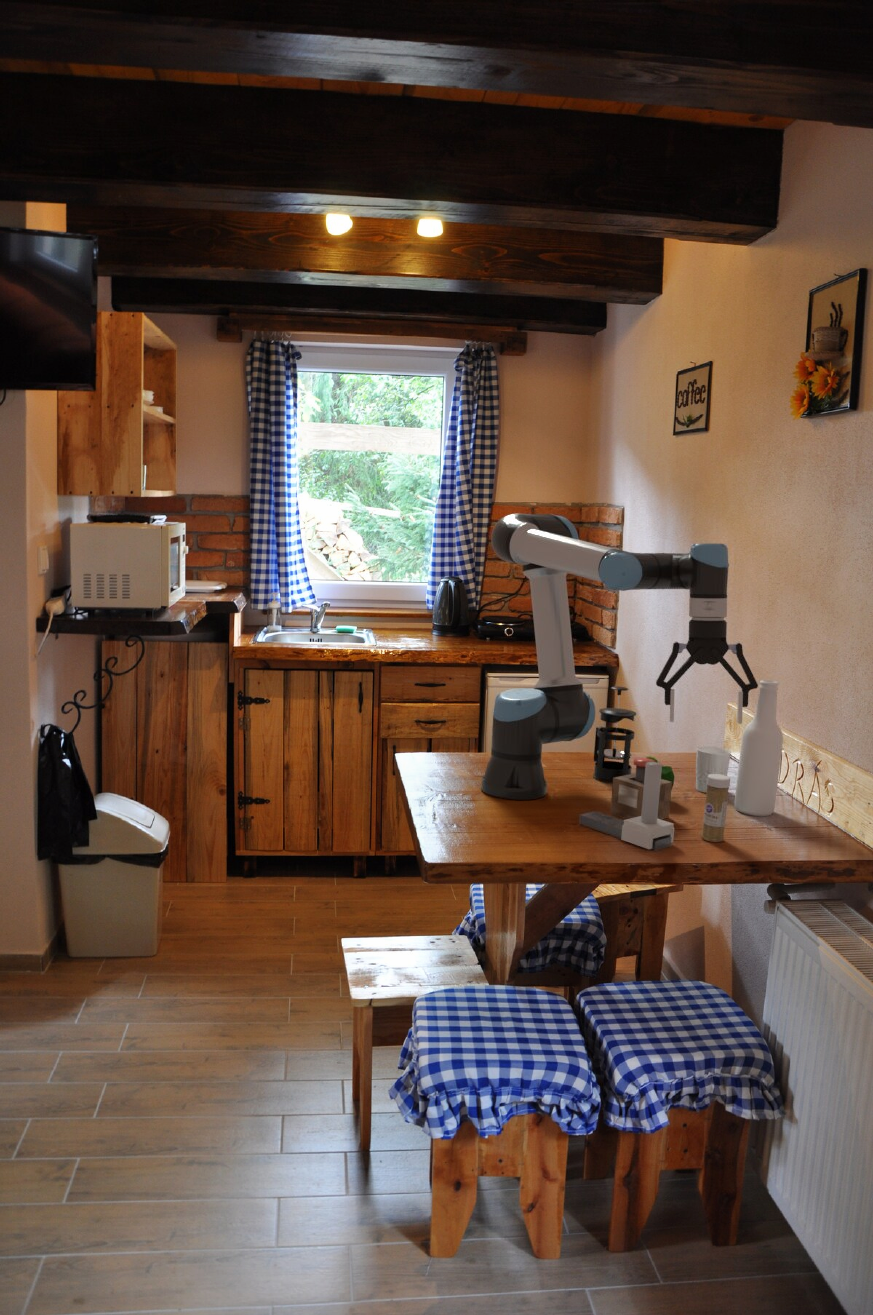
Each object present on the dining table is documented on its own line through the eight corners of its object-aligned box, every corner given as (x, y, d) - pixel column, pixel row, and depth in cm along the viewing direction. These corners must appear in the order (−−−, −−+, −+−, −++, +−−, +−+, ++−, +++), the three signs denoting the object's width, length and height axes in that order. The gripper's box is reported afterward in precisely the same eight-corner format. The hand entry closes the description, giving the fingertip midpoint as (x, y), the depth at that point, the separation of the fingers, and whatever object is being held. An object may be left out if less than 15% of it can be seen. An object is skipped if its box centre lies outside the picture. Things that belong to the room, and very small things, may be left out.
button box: (609, 813, 236) (612, 777, 234) (636, 806, 242) (639, 772, 240) (642, 824, 229) (645, 787, 228) (668, 817, 235) (671, 782, 234)
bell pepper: (679, 801, 249) (683, 759, 247) (660, 807, 243) (664, 764, 241) (648, 792, 254) (651, 751, 253) (629, 798, 248) (632, 756, 247)
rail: (578, 823, 227) (579, 814, 227) (594, 820, 230) (595, 811, 230) (655, 850, 212) (656, 841, 212) (670, 846, 215) (671, 836, 215)
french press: (641, 782, 263) (649, 690, 260) (612, 786, 258) (620, 692, 255) (608, 770, 273) (616, 681, 269) (580, 773, 268) (587, 683, 264)
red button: (626, 794, 235) (629, 759, 234) (639, 792, 238) (642, 756, 237) (642, 799, 232) (646, 763, 230) (655, 796, 235) (658, 761, 233)
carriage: (621, 839, 217) (627, 762, 214) (645, 833, 222) (652, 757, 219) (648, 849, 211) (656, 770, 209) (673, 842, 217) (680, 765, 214)
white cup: (723, 787, 263) (727, 747, 261) (729, 796, 255) (733, 755, 254) (691, 784, 264) (694, 745, 262) (695, 793, 256) (699, 752, 254)
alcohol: (730, 803, 248) (744, 676, 243) (768, 806, 248) (784, 679, 243) (738, 815, 239) (754, 683, 234) (778, 818, 239) (794, 686, 234)
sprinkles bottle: (697, 839, 221) (703, 775, 219) (707, 834, 225) (713, 772, 222) (718, 844, 218) (724, 780, 216) (727, 839, 222) (734, 776, 220)
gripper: (645, 619, 218) (643, 722, 220) (773, 620, 214) (770, 726, 216) (645, 617, 226) (643, 717, 228) (769, 618, 221) (766, 720, 223)
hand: (705, 722), depth 222 cm, fingers open, 13 cm apart
